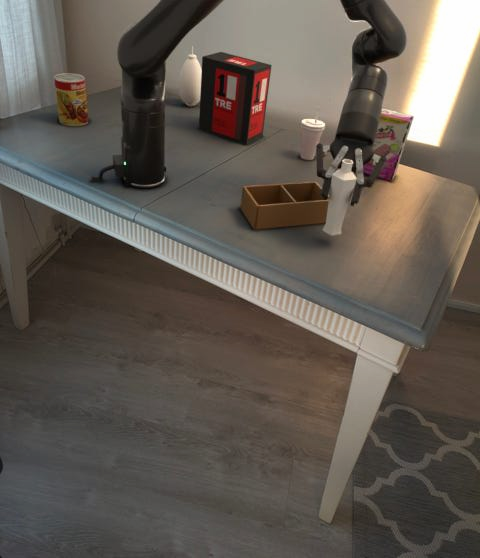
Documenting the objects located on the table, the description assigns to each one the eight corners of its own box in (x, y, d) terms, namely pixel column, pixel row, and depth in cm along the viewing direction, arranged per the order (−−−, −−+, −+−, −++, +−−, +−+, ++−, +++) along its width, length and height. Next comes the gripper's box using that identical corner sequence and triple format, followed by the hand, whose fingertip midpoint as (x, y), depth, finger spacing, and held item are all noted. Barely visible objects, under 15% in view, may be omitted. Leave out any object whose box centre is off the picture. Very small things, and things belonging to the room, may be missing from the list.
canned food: (84, 127, 140) (80, 83, 132) (55, 124, 139) (50, 80, 132) (91, 117, 146) (87, 74, 139) (64, 115, 146) (59, 71, 138)
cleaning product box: (198, 129, 147) (202, 56, 135) (216, 121, 153) (220, 51, 141) (246, 145, 141) (254, 70, 129) (262, 136, 147) (271, 64, 135)
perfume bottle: (318, 224, 103) (332, 155, 94) (339, 224, 104) (355, 156, 95) (323, 236, 100) (338, 166, 91) (344, 236, 100) (361, 167, 91)
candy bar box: (350, 171, 133) (365, 109, 123) (355, 164, 137) (370, 104, 127) (392, 182, 130) (411, 120, 120) (395, 175, 134) (414, 114, 124)
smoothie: (317, 163, 135) (328, 112, 127) (294, 159, 136) (302, 108, 127) (319, 154, 140) (329, 104, 132) (296, 150, 141) (305, 100, 133)
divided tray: (254, 229, 105) (257, 206, 101) (240, 208, 111) (242, 186, 108) (328, 222, 110) (333, 200, 107) (311, 202, 117) (315, 181, 113)
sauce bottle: (175, 107, 160) (176, 46, 149) (181, 100, 166) (183, 41, 156) (199, 110, 160) (202, 50, 149) (204, 103, 166) (207, 44, 155)
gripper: (324, 103, 96) (301, 187, 93) (399, 117, 93) (378, 203, 91) (322, 122, 103) (302, 200, 101) (393, 135, 100) (373, 215, 98)
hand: (338, 201), depth 96 cm, fingers closed on perfume bottle, 4 cm apart
